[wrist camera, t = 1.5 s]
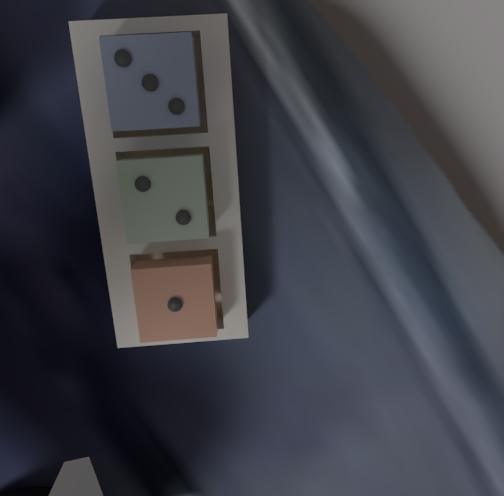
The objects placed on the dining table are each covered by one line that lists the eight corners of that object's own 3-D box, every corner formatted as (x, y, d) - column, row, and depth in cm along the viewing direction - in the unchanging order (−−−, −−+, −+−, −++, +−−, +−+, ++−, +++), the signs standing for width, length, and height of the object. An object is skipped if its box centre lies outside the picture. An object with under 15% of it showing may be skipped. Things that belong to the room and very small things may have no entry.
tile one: (144, 330, 38) (139, 344, 35) (135, 261, 36) (129, 270, 34) (217, 324, 38) (217, 337, 36) (211, 255, 36) (210, 264, 34)
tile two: (132, 236, 36) (126, 244, 33) (122, 158, 34) (115, 161, 32) (209, 231, 36) (208, 238, 34) (203, 153, 34) (201, 155, 32)
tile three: (118, 131, 33) (110, 131, 31) (107, 42, 32) (97, 36, 30) (200, 126, 34) (199, 126, 31) (193, 37, 32) (190, 31, 30)
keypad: (125, 330, 42) (117, 348, 38) (82, 30, 35) (68, 21, 32) (246, 320, 42) (248, 337, 39) (226, 23, 35) (227, 13, 32)
